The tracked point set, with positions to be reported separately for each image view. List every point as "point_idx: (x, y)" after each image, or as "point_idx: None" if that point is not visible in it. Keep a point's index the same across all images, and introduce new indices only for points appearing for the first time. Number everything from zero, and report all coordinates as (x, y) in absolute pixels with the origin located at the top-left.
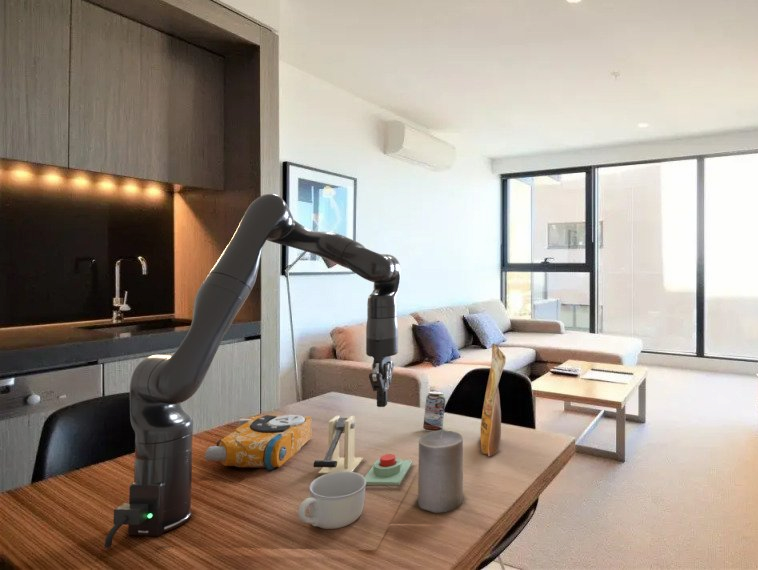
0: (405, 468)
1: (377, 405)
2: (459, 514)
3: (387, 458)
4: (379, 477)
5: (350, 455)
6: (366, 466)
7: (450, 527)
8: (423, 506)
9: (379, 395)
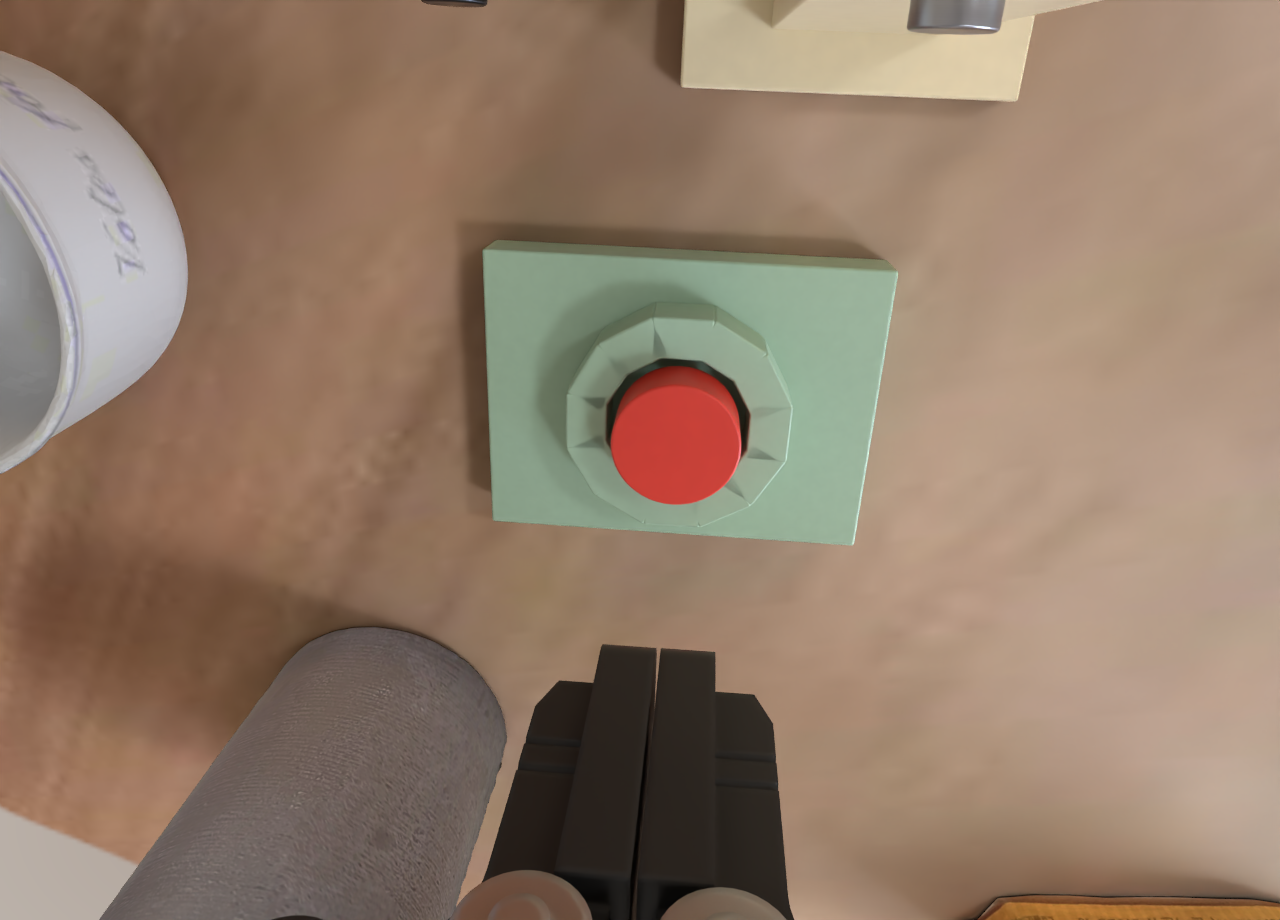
0: (708, 524)
1: (604, 656)
2: None
3: (645, 451)
4: (558, 374)
5: (843, 25)
6: (902, 160)
7: (176, 772)
8: (282, 669)
9: (520, 860)
